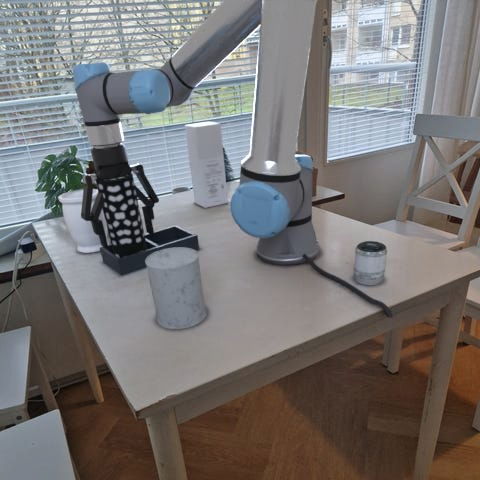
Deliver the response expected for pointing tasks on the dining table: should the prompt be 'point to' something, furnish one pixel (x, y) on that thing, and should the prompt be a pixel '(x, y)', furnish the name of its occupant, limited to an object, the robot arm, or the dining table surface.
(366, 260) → the camera lens
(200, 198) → the tall white carton
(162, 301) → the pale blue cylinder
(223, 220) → the dining table surface
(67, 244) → the dining table surface
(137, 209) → the white-spotted black cylinder
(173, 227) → the divided tray
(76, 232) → the jar
